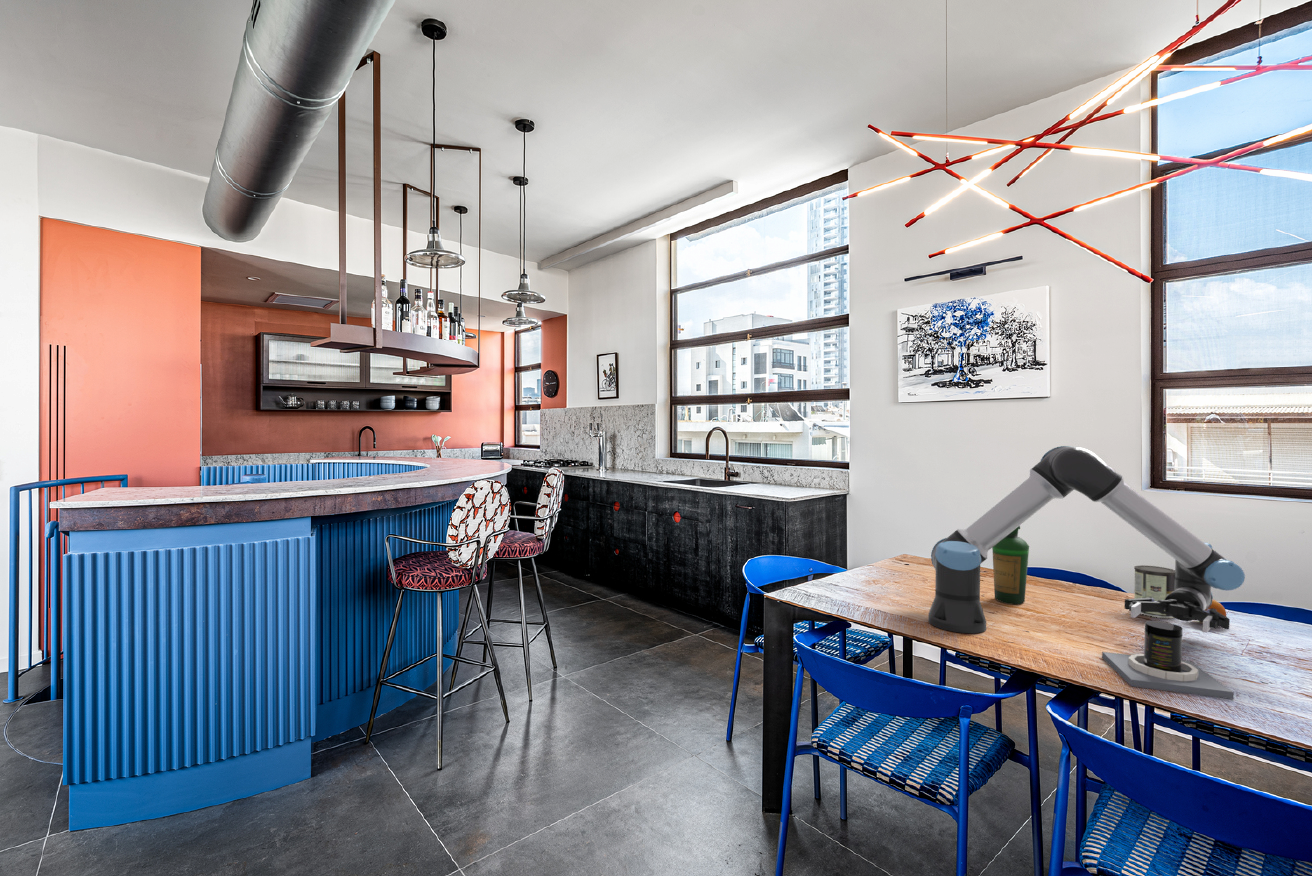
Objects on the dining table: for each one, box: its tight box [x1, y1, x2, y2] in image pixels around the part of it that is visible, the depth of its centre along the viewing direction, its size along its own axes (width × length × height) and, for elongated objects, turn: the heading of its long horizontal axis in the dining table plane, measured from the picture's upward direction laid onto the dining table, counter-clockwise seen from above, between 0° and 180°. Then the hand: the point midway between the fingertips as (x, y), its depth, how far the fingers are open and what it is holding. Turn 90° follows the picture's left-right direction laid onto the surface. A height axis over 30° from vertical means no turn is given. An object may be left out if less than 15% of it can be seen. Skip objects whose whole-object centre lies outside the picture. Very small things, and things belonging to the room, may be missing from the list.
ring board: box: [1101, 651, 1235, 700], centre depth 140 cm, size 18×18×3 cm
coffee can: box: [1133, 565, 1175, 619], centre depth 188 cm, size 10×10×14 cm
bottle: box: [991, 525, 1030, 605], centre depth 201 cm, size 11×11×28 cm
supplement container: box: [1143, 620, 1184, 673], centre depth 140 cm, size 7×7×10 cm
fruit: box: [1196, 599, 1227, 624], centre depth 179 cm, size 8×8×8 cm
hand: (1167, 619), depth 147 cm, fingers open, 13 cm apart
